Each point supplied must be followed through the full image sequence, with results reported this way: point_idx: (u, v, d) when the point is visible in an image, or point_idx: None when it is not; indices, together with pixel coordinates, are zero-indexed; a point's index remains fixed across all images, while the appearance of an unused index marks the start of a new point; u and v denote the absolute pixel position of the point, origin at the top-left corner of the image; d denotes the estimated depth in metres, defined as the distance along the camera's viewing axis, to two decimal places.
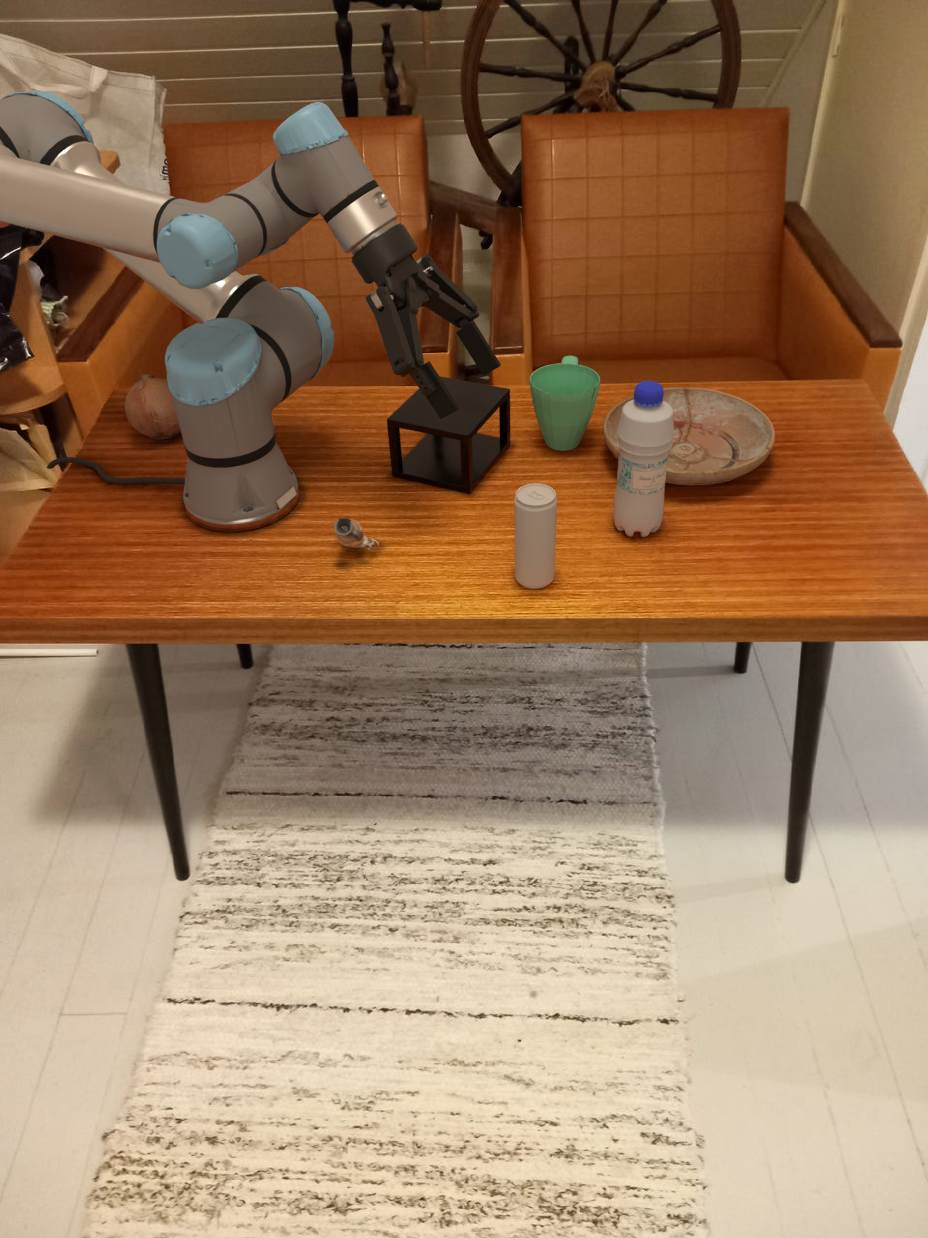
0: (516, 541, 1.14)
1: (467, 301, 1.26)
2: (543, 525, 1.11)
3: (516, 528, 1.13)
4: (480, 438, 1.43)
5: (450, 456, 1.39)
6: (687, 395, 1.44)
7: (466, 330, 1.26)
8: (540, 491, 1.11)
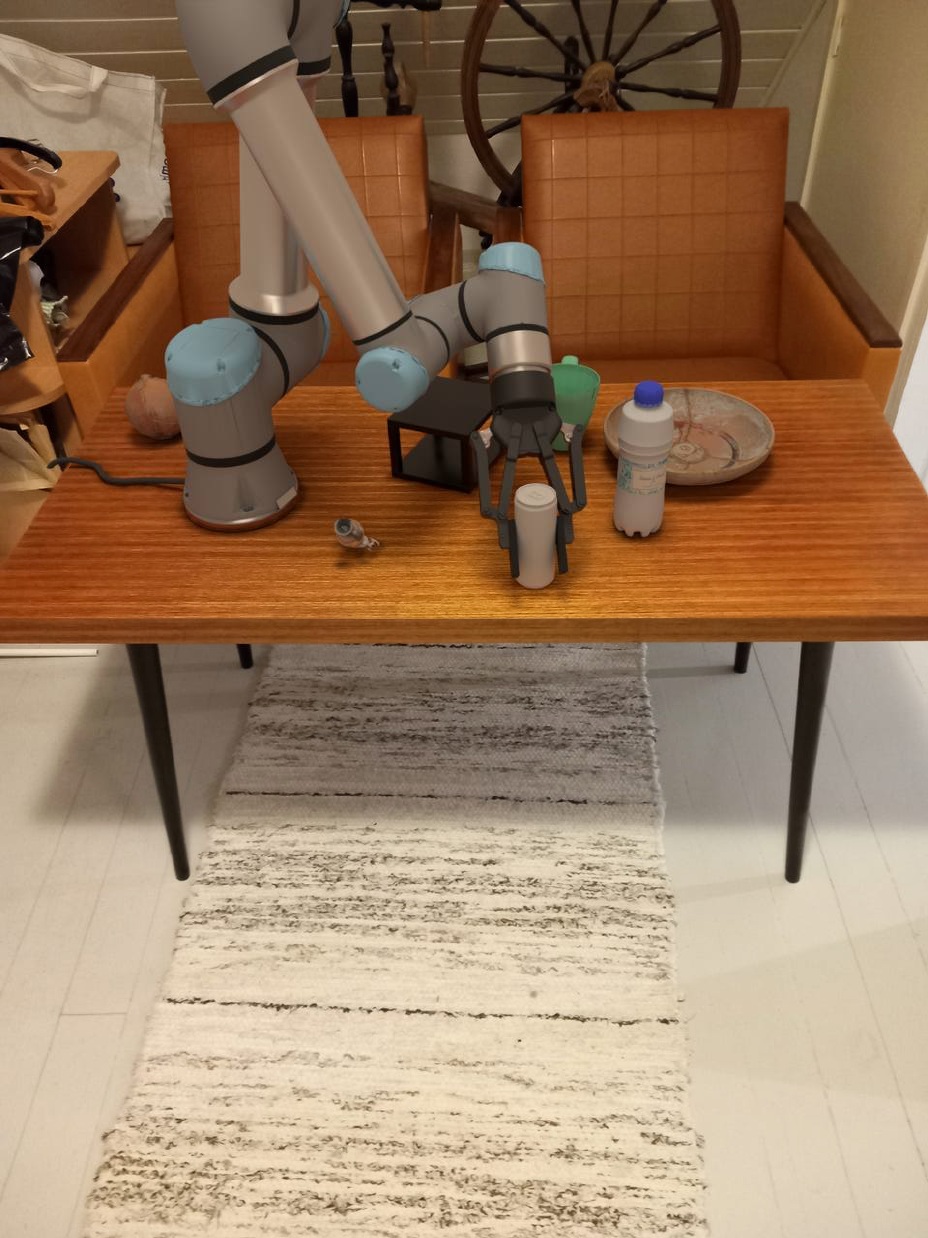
0: None
1: None
2: (543, 525, 1.11)
3: (516, 528, 1.13)
4: None
5: (450, 456, 1.39)
6: (687, 395, 1.44)
7: None
8: (540, 491, 1.11)
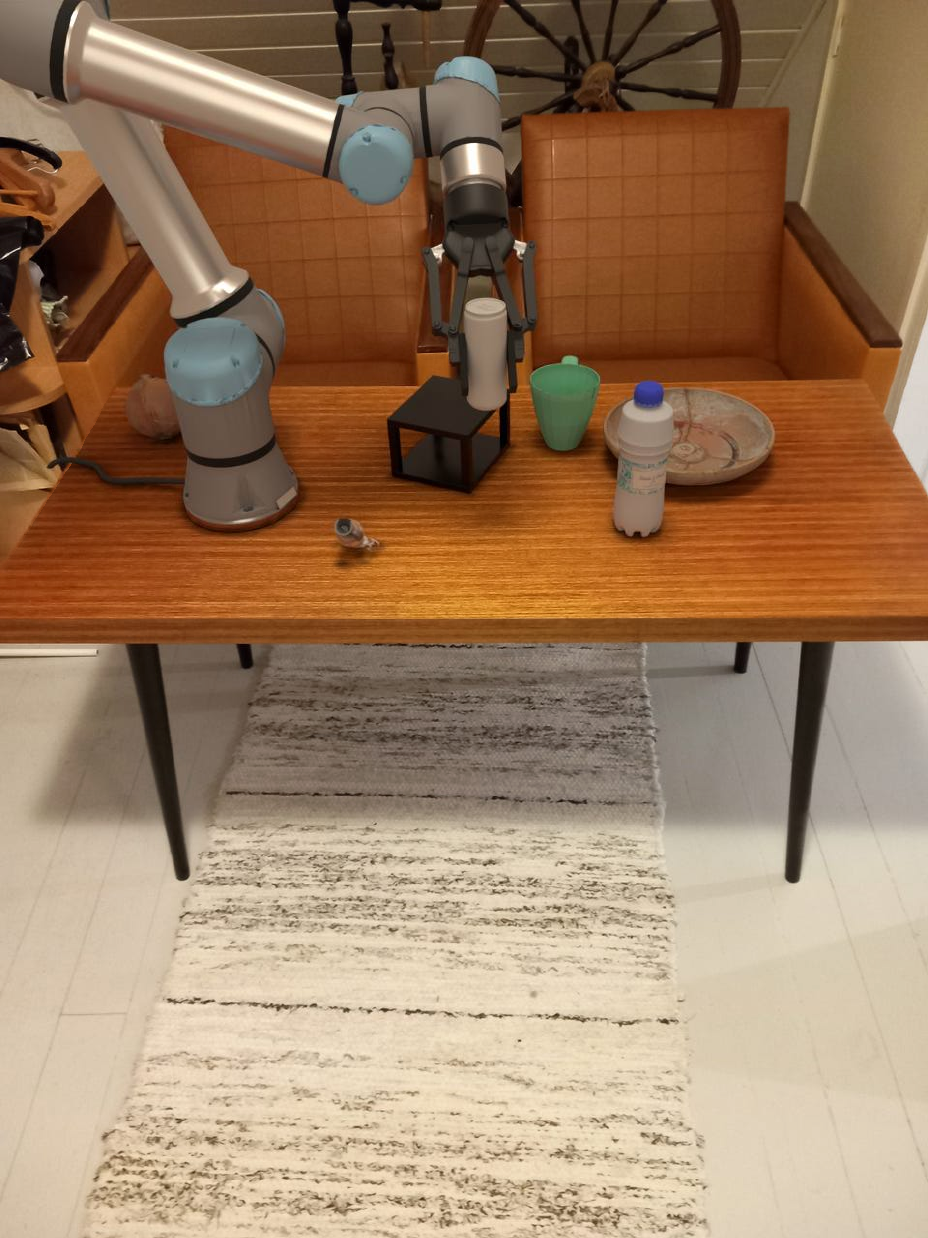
0: (467, 358, 1.14)
1: None
2: (492, 336, 1.10)
3: (466, 343, 1.12)
4: (480, 438, 1.43)
5: (450, 456, 1.39)
6: (687, 395, 1.44)
7: None
8: (490, 303, 1.11)
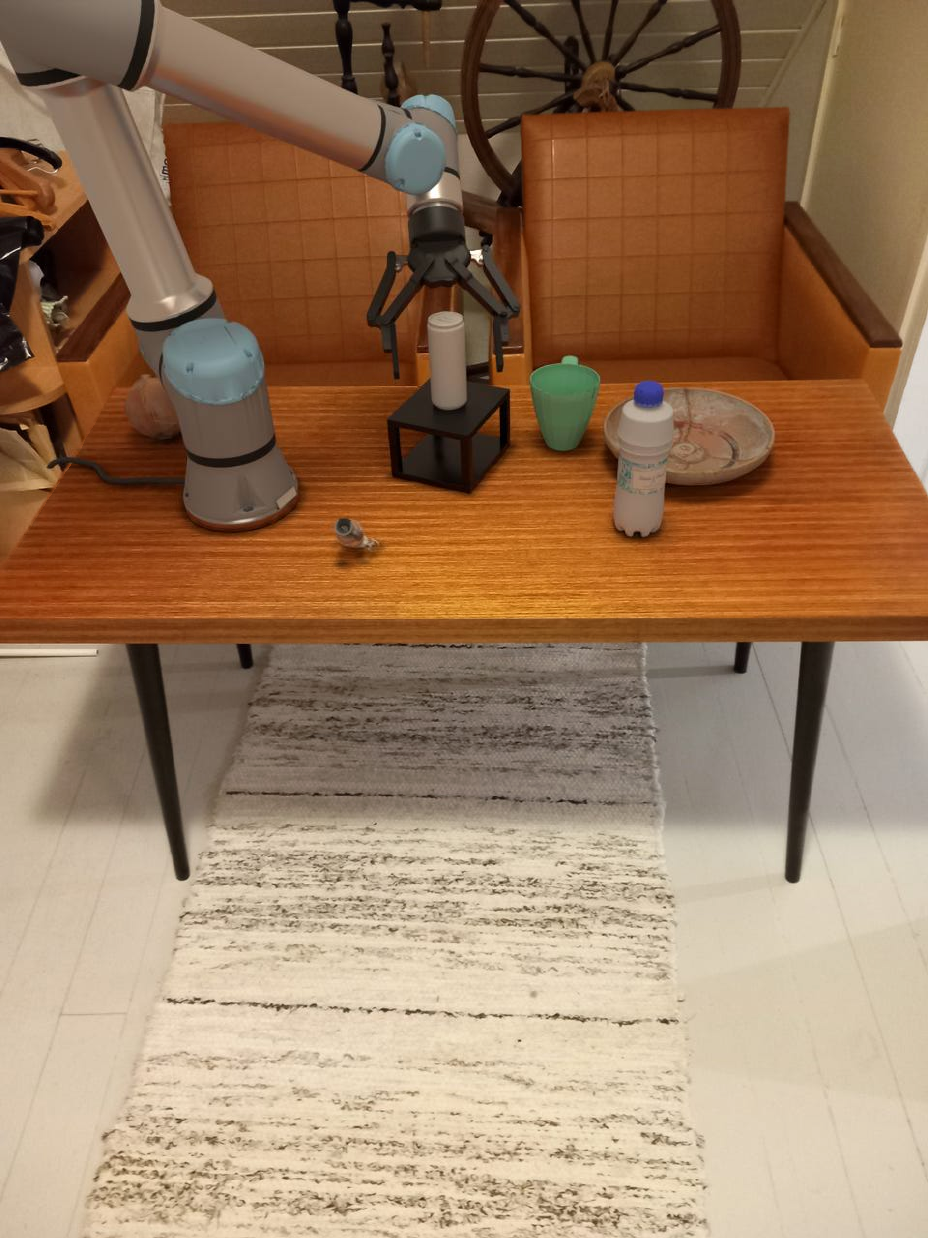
0: (430, 364, 1.30)
1: (377, 315, 1.31)
2: (452, 345, 1.27)
3: (430, 351, 1.29)
4: (480, 438, 1.43)
5: (450, 456, 1.39)
6: (687, 395, 1.44)
7: None
8: (450, 316, 1.27)
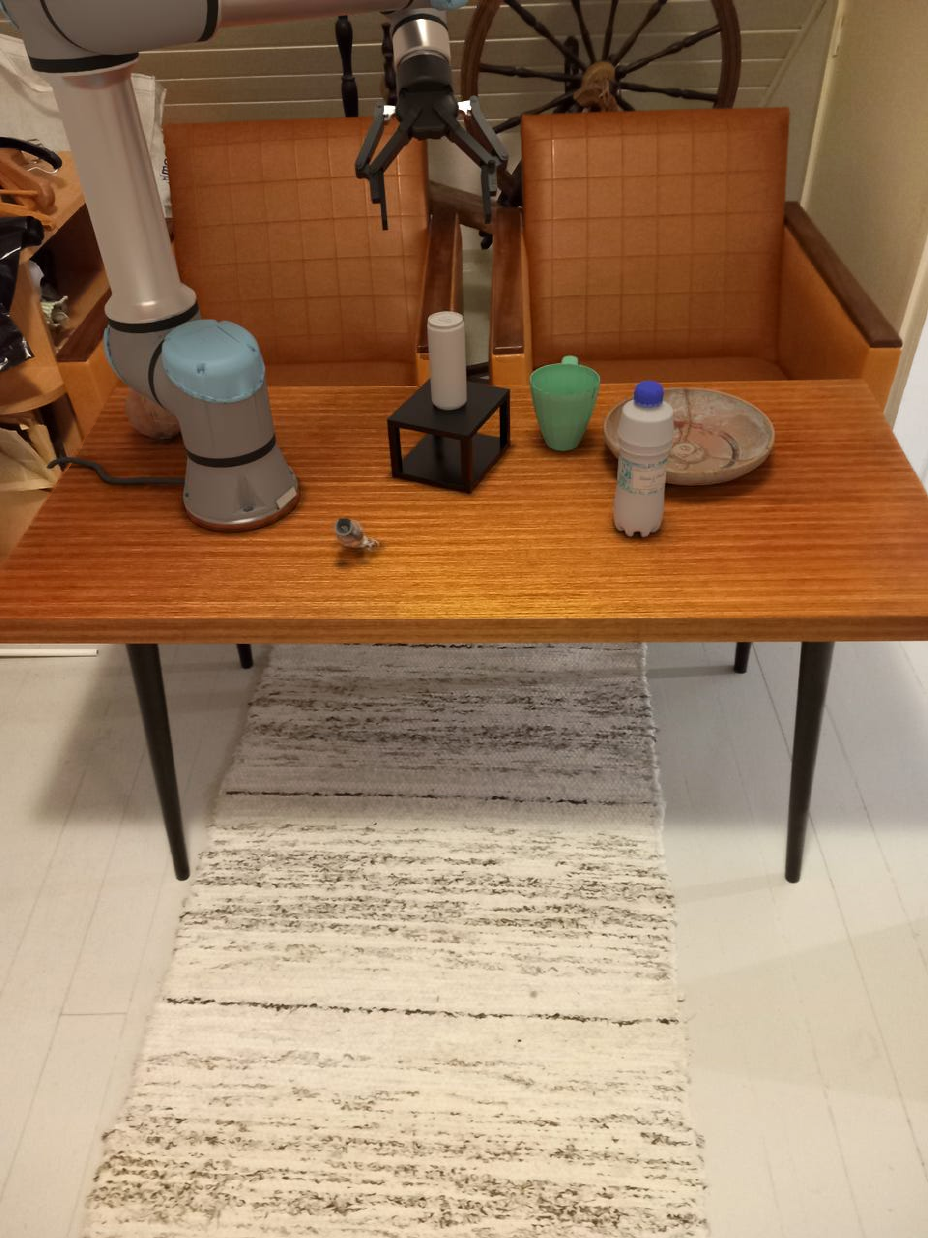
0: (430, 364, 1.30)
1: None
2: (452, 345, 1.27)
3: (429, 351, 1.29)
4: (480, 438, 1.43)
5: (450, 456, 1.39)
6: (687, 395, 1.44)
7: None
8: (450, 316, 1.27)
